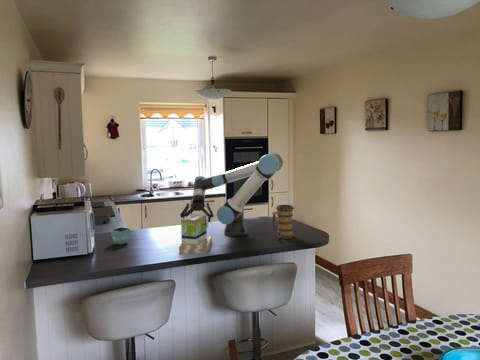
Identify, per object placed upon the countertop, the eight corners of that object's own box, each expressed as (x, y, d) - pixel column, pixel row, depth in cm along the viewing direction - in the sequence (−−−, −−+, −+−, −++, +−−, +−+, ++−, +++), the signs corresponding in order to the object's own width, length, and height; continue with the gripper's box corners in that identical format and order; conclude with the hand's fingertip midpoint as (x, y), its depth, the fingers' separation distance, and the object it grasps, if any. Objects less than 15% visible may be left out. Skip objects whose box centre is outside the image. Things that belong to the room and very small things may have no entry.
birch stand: (211, 242, 232) (211, 235, 231) (207, 253, 210) (207, 246, 209) (186, 242, 232) (185, 236, 232) (179, 253, 210) (179, 246, 210)
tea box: (197, 245, 211) (196, 219, 209) (181, 244, 214) (180, 219, 212) (207, 238, 225) (206, 214, 223) (192, 237, 228) (191, 213, 227)
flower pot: (131, 242, 235) (130, 228, 234) (120, 246, 228) (119, 231, 227) (122, 240, 240) (121, 227, 239) (111, 244, 232) (110, 230, 231)
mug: (299, 237, 239) (299, 206, 237) (278, 241, 230) (278, 209, 228) (286, 232, 250) (286, 203, 248) (266, 237, 241) (265, 206, 238)
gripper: (218, 200, 237) (217, 229, 224) (180, 201, 238) (176, 230, 225) (217, 193, 231) (216, 223, 218) (178, 194, 232) (174, 223, 219)
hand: (195, 226), depth 221 cm, fingers open, 13 cm apart
